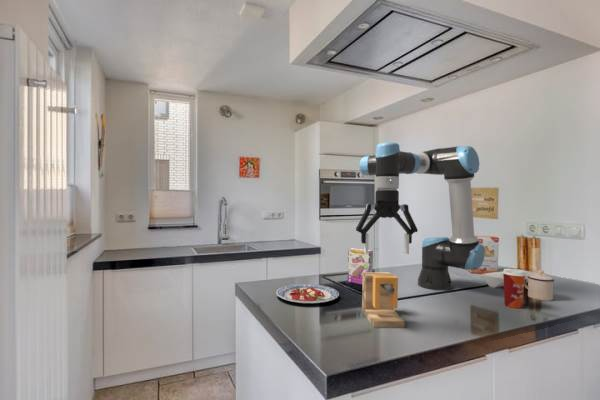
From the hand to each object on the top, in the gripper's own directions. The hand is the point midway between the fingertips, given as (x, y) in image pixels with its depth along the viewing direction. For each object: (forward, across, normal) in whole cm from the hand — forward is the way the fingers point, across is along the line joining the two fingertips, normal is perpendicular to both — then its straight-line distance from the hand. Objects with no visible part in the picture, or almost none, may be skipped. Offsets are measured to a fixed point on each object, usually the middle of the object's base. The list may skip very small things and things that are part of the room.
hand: (386, 253), depth 110 cm
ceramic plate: (+23, -24, +27) cm, 43 cm away
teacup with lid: (+24, +75, +28) cm, 83 cm away
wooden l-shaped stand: (+23, 0, +3) cm, 23 cm away
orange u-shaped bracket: (+18, 0, 0) cm, 18 cm away
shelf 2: (+24, +78, +49) cm, 96 cm away
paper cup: (+24, +56, +16) cm, 62 cm away
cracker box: (+24, +79, +73) cm, 110 cm away
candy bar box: (+23, +3, +49) cm, 54 cm away
